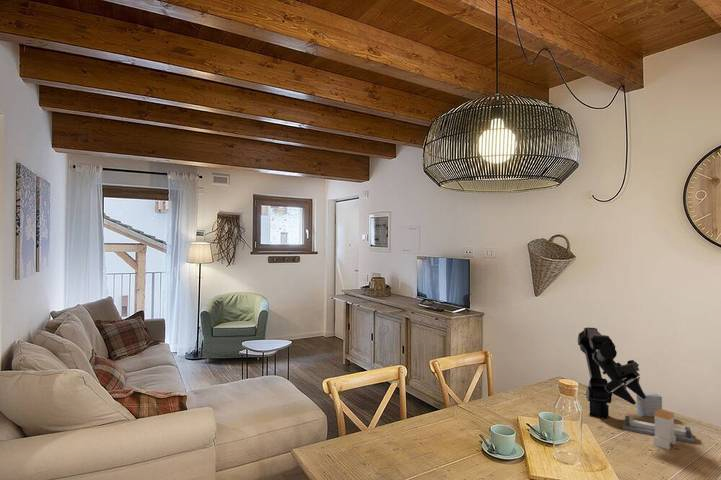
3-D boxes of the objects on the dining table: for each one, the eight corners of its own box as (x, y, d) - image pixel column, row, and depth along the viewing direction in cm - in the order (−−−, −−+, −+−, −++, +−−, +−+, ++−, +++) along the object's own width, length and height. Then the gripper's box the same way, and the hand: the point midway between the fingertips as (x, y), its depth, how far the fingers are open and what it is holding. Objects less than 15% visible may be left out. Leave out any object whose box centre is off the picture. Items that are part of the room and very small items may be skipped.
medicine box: (656, 412, 178) (655, 392, 178) (662, 417, 173) (662, 396, 173) (636, 412, 178) (636, 392, 178) (642, 416, 174) (642, 395, 174)
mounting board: (622, 429, 162) (622, 420, 163) (623, 421, 169) (623, 413, 169) (694, 443, 150) (694, 434, 150) (692, 435, 157) (691, 426, 157)
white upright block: (653, 444, 150) (652, 412, 150) (661, 438, 154) (660, 407, 154) (668, 449, 146) (667, 417, 146) (675, 443, 151) (675, 411, 151)
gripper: (613, 358, 155) (647, 396, 146) (633, 350, 166) (666, 384, 157) (591, 373, 162) (623, 411, 153) (613, 365, 173) (643, 399, 164)
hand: (640, 401), depth 157 cm, fingers open, 9 cm apart
